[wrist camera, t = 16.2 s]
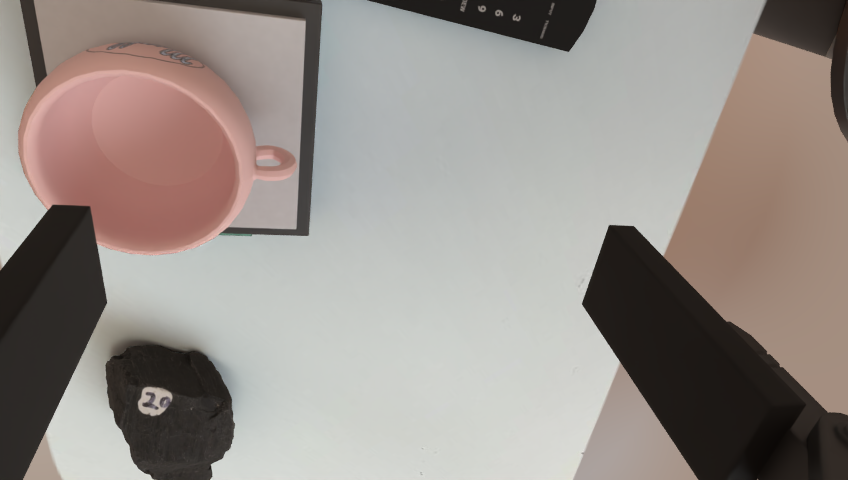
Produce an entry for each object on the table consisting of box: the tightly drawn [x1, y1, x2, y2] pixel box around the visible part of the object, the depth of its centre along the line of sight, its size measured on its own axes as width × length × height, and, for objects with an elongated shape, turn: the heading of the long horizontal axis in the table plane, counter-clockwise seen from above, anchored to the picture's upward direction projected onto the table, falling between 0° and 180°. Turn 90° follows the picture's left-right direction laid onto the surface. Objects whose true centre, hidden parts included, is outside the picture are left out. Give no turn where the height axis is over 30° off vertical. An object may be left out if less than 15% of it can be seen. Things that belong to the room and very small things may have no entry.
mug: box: [18, 42, 297, 255], centre depth 28 cm, size 12×10×6 cm
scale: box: [20, 0, 322, 236], centre depth 32 cm, size 14×14×3 cm
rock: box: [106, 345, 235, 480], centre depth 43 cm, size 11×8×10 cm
